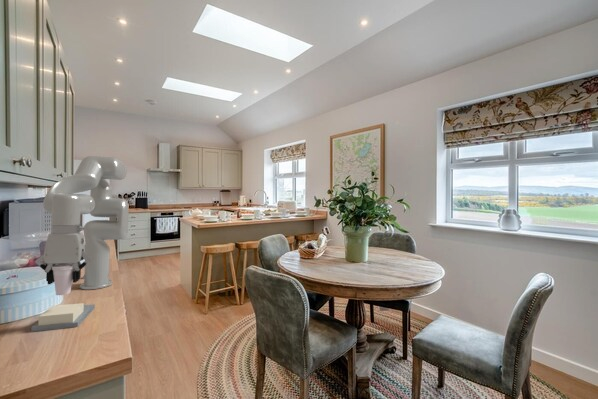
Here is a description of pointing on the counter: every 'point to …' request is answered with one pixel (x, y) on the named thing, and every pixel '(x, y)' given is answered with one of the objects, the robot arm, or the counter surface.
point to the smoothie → (63, 278)
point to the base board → (65, 325)
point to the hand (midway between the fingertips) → (63, 281)
